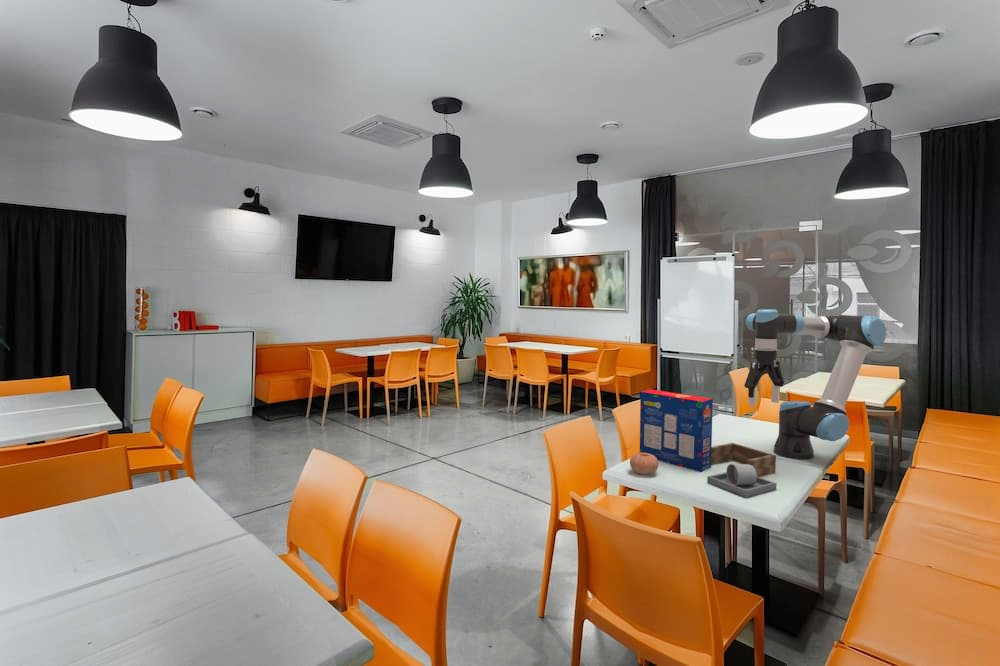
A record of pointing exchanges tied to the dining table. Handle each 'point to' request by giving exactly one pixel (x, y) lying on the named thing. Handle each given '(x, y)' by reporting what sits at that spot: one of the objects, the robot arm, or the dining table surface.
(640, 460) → the orange ribbed round gourd
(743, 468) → the ceramic mug
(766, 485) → the tray
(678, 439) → the pasta box
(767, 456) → the bay
